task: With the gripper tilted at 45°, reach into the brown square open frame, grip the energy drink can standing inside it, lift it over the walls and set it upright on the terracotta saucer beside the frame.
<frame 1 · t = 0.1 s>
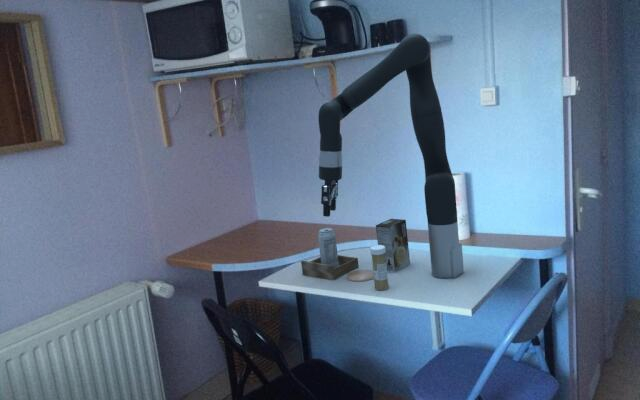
hand: (329, 213, 183), 22 cm above the table, tool pointing down, fingers open, 8 cm apart
coffee box: (395, 267, 190), on the table
terracotta saucer: (361, 276, 185), on the table
brown square open frame: (330, 271, 194), on the table
sprinkles bottle: (381, 288, 173), on the table
energy drink can: (330, 271, 194), resting in brown square open frame
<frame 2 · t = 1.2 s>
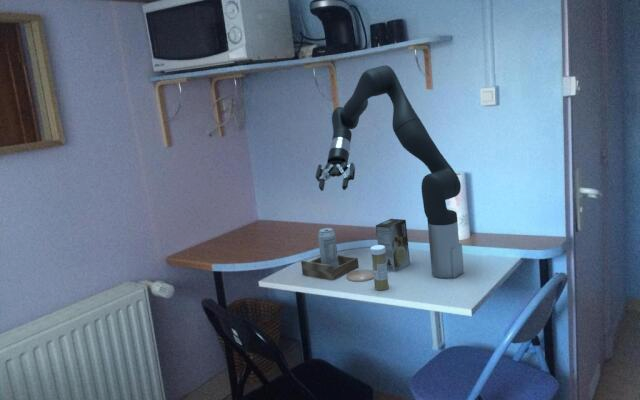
hand: (332, 189, 199), 27 cm above the table, tool tilted 45°, fingers open, 8 cm apart
nothing on the table moved.
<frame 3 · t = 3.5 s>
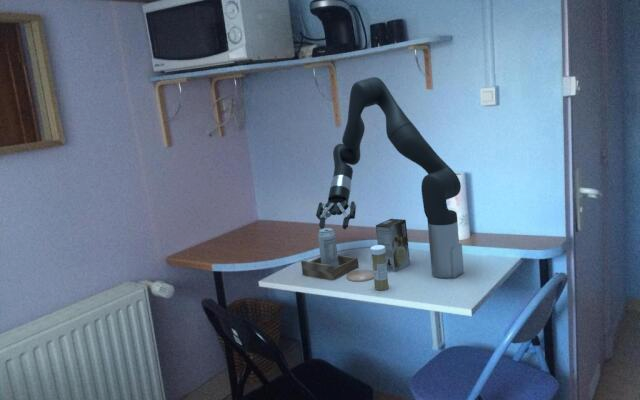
hand: (332, 228, 198), 14 cm above the table, tool tilted 45°, fingers open, 8 cm apart
nothing on the table moved.
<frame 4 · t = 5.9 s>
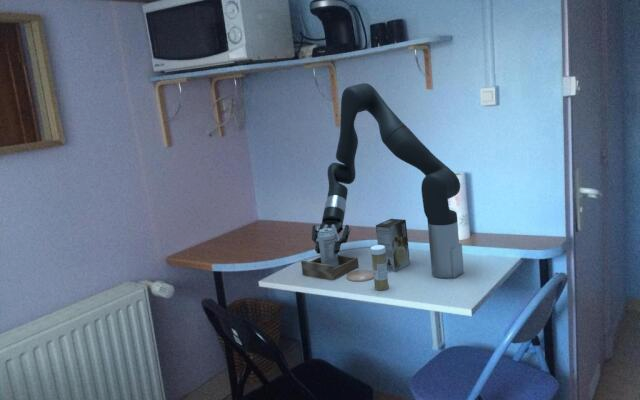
hand: (326, 252, 191), 7 cm above the table, tool tilted 45°, fingers closed on energy drink can, 6 cm apart
energy drink can: (330, 271, 194), resting in brown square open frame, touching gripper
everything else where it was.
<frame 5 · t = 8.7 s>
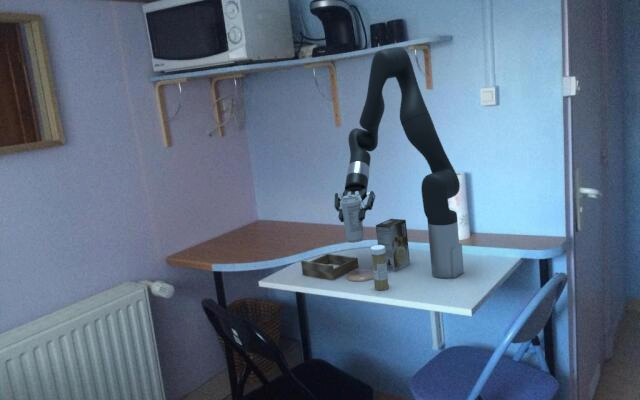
hand: (351, 220, 181), 20 cm above the table, tool tilted 45°, fingers closed on energy drink can, 6 cm apart
energy drink can: (355, 241, 184), point 12 cm above the table, touching gripper
everything else where it was.
when the fingers open (10 cm above the table, at t = 11.5 s): energy drink can drops 2 cm, resting on terracotta saucer.
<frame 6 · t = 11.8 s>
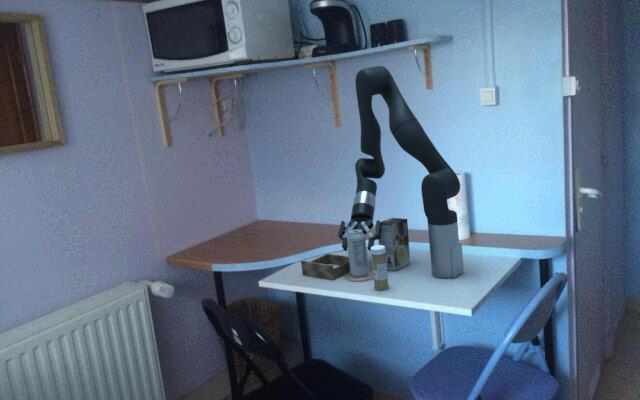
hand: (357, 249, 182), 10 cm above the table, tool tilted 45°, fingers open, 8 cm apart
coffee box: (395, 266, 190), on the table, touching hand
energy drink can: (360, 275, 185), point 1 cm above the table, touching terracotta saucer
everything else where it was.
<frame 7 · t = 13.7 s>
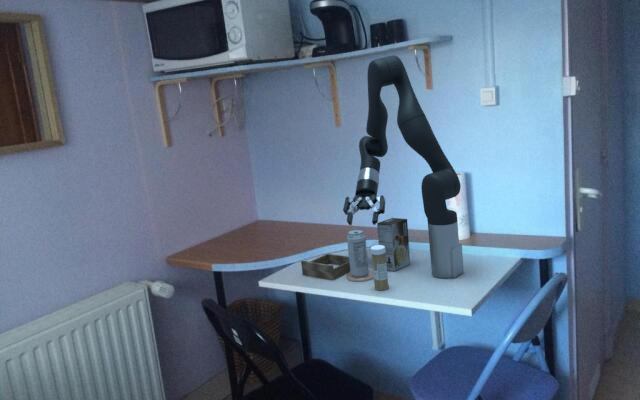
hand: (361, 223, 188), 17 cm above the table, tool tilted 45°, fingers open, 8 cm apart
coffee box: (395, 267, 190), on the table, touching gripper
everything else where it was.
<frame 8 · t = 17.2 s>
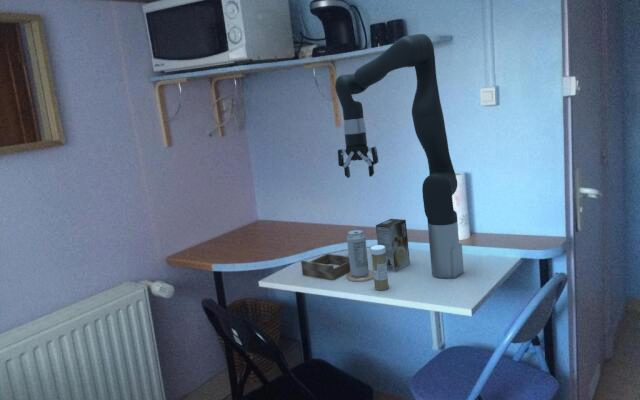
hand: (359, 176, 199), 30 cm above the table, tool pointing down, fingers open, 8 cm apart
coffee box: (395, 267, 190), on the table
everything else where it was.
at the end: energy drink can inside the target area on the terracotta saucer (0.8 cm from its centre), point 0.4 cm above the terracotta saucer's base; energy drink can tilted 0°; the gripper is holding nothing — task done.
